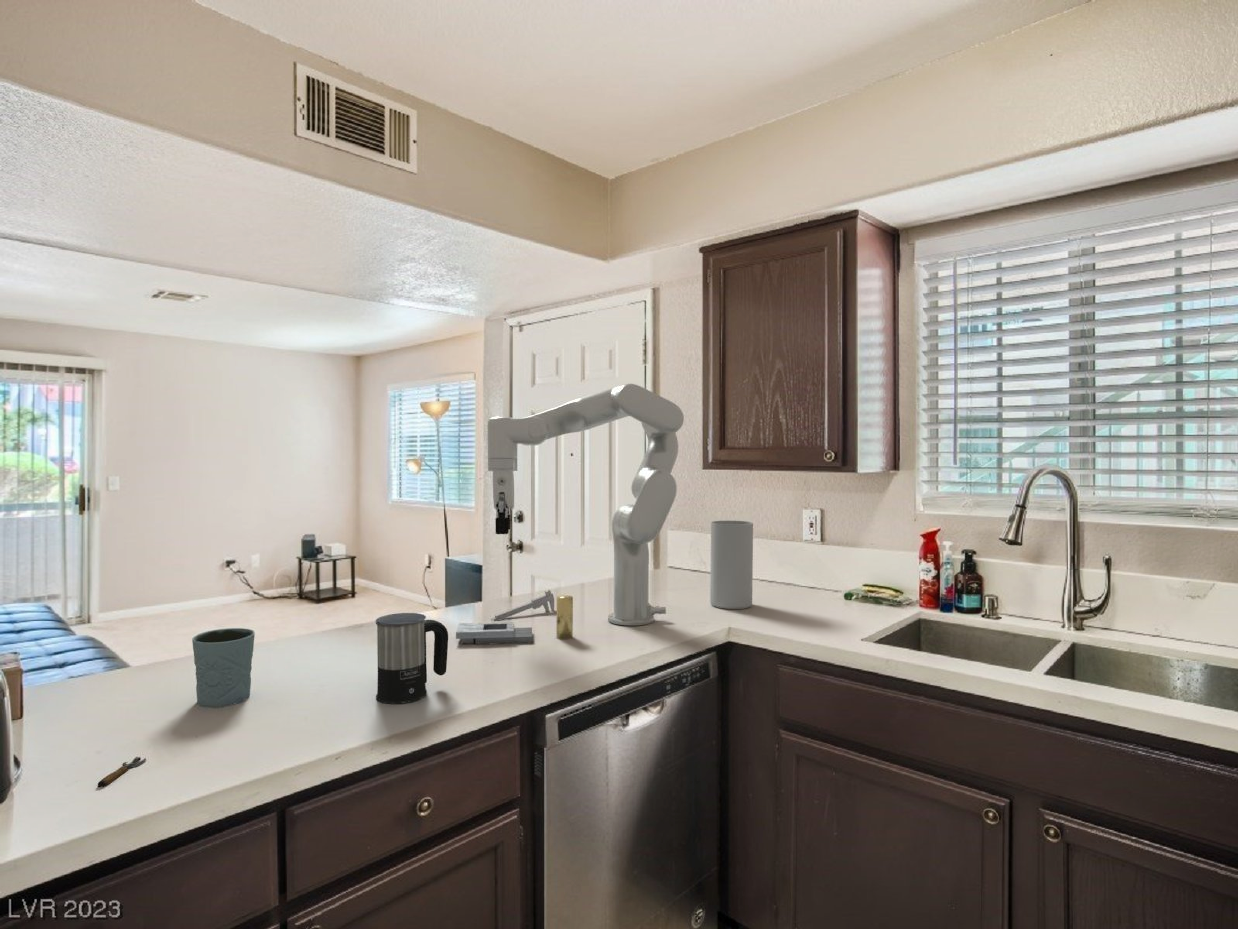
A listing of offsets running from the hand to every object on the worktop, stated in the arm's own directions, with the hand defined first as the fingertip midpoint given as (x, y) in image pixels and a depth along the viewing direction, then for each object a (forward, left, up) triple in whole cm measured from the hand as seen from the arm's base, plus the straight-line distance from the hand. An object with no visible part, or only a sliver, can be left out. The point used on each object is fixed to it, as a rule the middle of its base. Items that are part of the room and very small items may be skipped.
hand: (503, 531), depth 184 cm
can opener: (+52, +76, -26) cm, 95 cm away
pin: (-15, +9, -25) cm, 31 cm away
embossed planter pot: (+50, +46, -26) cm, 72 cm away
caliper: (-5, -16, -26) cm, 31 cm away
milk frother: (+19, +44, -26) cm, 54 cm away
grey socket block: (+2, +9, -25) cm, 27 cm away
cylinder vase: (-67, -22, -26) cm, 75 cm away
